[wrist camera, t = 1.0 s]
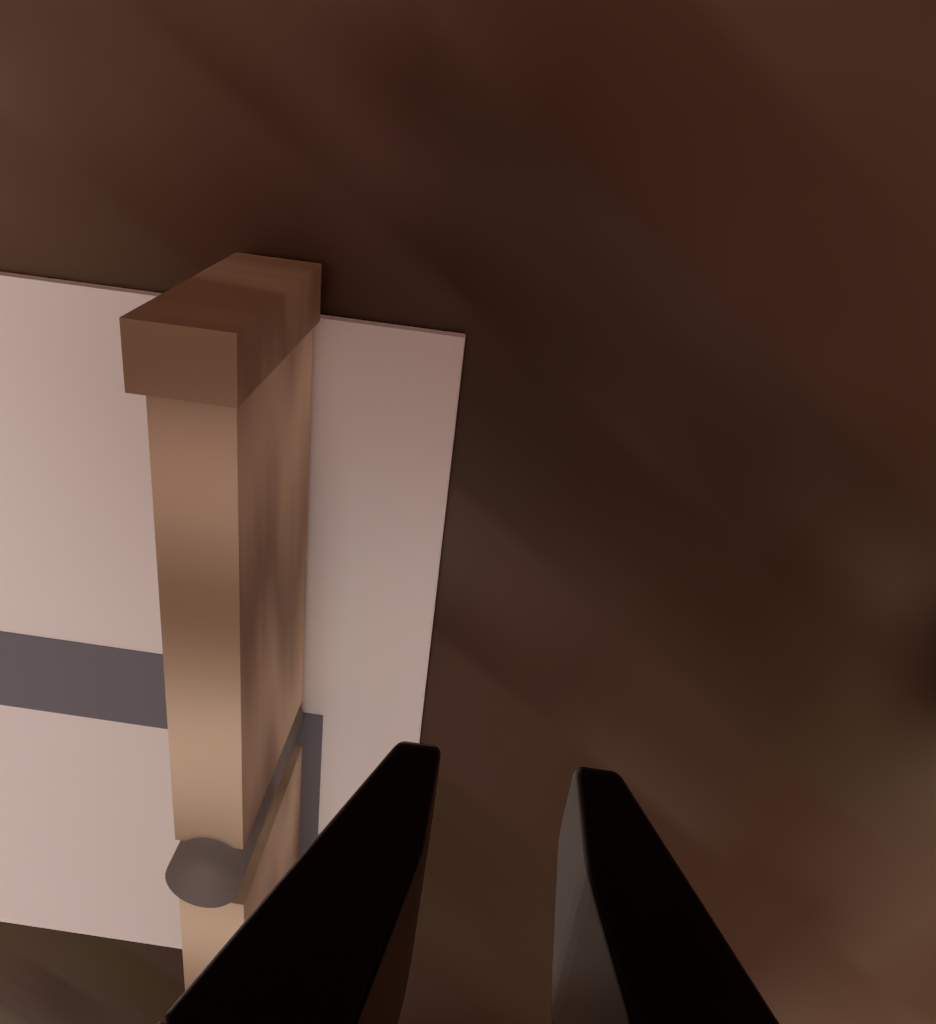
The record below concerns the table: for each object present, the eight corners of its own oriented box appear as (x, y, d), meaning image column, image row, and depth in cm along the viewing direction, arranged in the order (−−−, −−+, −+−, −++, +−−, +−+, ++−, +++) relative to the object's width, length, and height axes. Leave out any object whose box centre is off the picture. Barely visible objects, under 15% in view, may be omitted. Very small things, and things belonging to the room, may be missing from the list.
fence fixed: (303, 939, 28) (241, 1156, 23) (249, 931, 28) (175, 1146, 23) (310, 738, 24) (237, 941, 18) (248, 729, 24) (156, 929, 19)
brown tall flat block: (306, 740, 24) (242, 913, 19) (242, 730, 24) (162, 901, 19) (321, 263, 18) (234, 335, 13) (235, 252, 18) (116, 319, 13)
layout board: (393, 972, 29) (391, 982, 28) (-99, 897, 29) (-106, 906, 29) (466, 334, 18) (464, 338, 18) (-293, 232, 19) (-306, 234, 19)
